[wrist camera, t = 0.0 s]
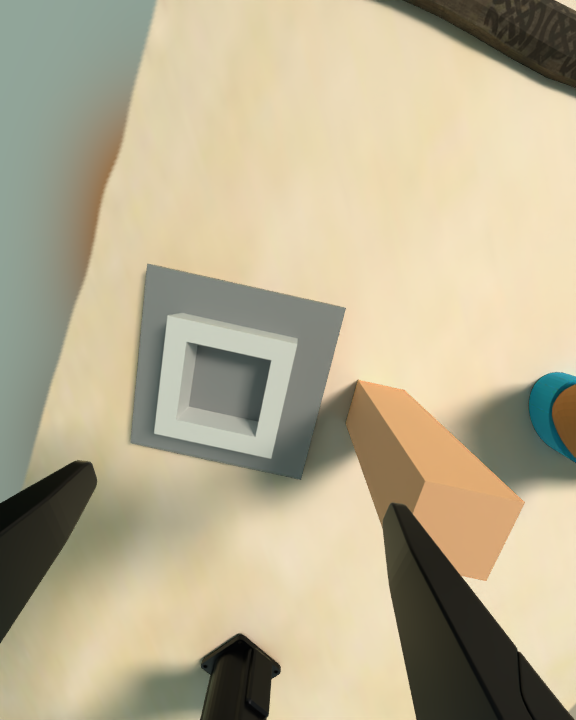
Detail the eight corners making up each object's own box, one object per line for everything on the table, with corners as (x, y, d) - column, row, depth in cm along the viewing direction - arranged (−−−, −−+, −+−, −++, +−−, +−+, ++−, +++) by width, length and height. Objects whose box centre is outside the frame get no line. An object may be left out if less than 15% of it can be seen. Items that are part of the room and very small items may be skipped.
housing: (300, 471, 26) (301, 500, 22) (138, 436, 26) (111, 459, 22) (343, 307, 22) (351, 310, 19) (155, 265, 22) (127, 260, 19)
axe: (374, -214, 14) (860, 58, 16) (366, -148, 17) (790, 83, 18) (286, 66, 18) (678, 259, 20) (290, 87, 21) (640, 258, 22)
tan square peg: (390, 432, 25) (486, 581, 12) (345, 423, 25) (394, 561, 12) (404, 390, 24) (524, 502, 11) (357, 379, 24) (425, 480, 11)
